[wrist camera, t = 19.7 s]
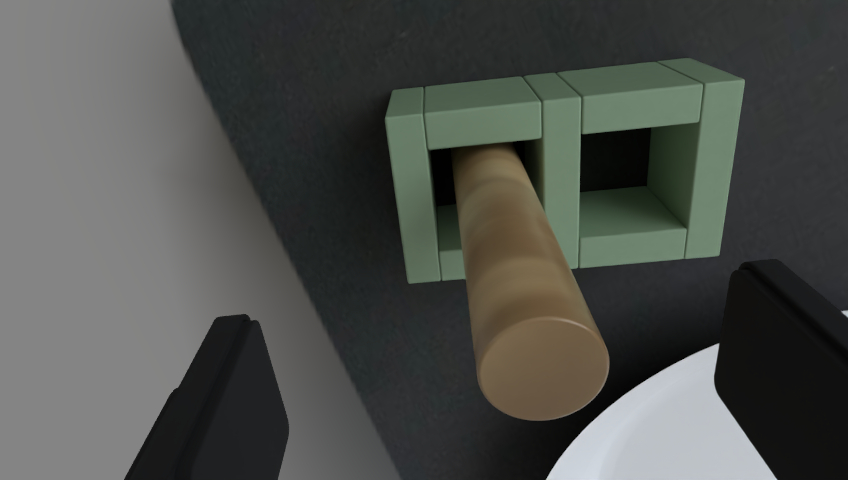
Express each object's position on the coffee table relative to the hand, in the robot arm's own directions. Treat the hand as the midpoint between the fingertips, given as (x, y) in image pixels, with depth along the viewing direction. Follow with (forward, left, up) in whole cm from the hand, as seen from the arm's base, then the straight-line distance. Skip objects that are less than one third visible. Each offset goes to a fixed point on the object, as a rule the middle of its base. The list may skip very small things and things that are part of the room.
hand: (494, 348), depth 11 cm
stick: (+1, 0, -12) cm, 12 cm away
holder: (+3, 0, -12) cm, 12 cm away
